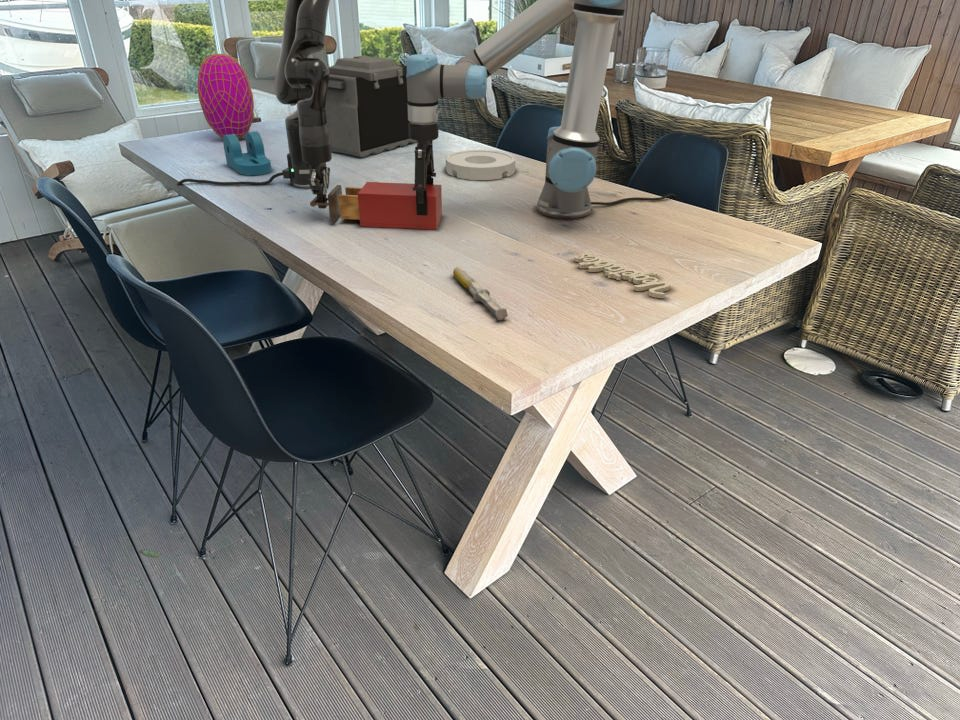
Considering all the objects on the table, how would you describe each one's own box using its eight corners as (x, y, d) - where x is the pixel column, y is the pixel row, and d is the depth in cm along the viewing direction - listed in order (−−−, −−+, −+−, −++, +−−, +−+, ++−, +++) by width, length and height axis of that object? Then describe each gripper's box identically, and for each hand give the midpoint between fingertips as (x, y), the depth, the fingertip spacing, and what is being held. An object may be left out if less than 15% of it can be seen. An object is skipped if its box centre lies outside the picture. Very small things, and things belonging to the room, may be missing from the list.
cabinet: (360, 226, 182) (357, 193, 177) (369, 213, 191) (366, 181, 186) (436, 229, 180) (435, 196, 176) (441, 216, 189) (441, 184, 185)
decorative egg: (223, 147, 254) (207, 59, 238) (197, 138, 265) (180, 54, 250) (268, 138, 266) (256, 54, 251) (241, 130, 277) (228, 49, 262)
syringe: (449, 274, 155) (449, 263, 153) (465, 272, 156) (464, 260, 154) (490, 323, 135) (491, 310, 133) (508, 319, 136) (508, 307, 134)
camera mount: (227, 164, 233) (221, 132, 227) (257, 160, 238) (252, 129, 233) (244, 176, 220) (239, 143, 215) (276, 172, 225) (271, 139, 220)
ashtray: (448, 160, 240) (448, 149, 238) (514, 162, 240) (514, 150, 238) (443, 179, 220) (443, 166, 218) (515, 180, 220) (515, 168, 218)
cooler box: (383, 133, 276) (378, 52, 261) (425, 141, 265) (422, 56, 250) (314, 150, 251) (304, 61, 235) (358, 160, 240) (350, 67, 224)
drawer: (309, 219, 183) (306, 194, 179) (319, 208, 191) (316, 183, 187) (401, 223, 181) (400, 198, 177) (407, 212, 189) (406, 187, 185)
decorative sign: (686, 282, 150) (660, 295, 144) (686, 286, 150) (659, 300, 144) (592, 249, 166) (565, 259, 160) (592, 253, 167) (565, 263, 161)
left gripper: (322, 148, 171) (330, 215, 180) (336, 136, 182) (342, 200, 191) (292, 147, 171) (302, 215, 180) (308, 136, 183) (316, 199, 191)
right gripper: (431, 132, 162) (433, 222, 173) (444, 113, 181) (445, 195, 193) (399, 131, 162) (403, 221, 173) (416, 112, 182) (418, 194, 193)
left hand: (323, 207), depth 185 cm, fingers closed
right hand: (425, 207), depth 183 cm, fingers closed on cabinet, 11 cm apart
